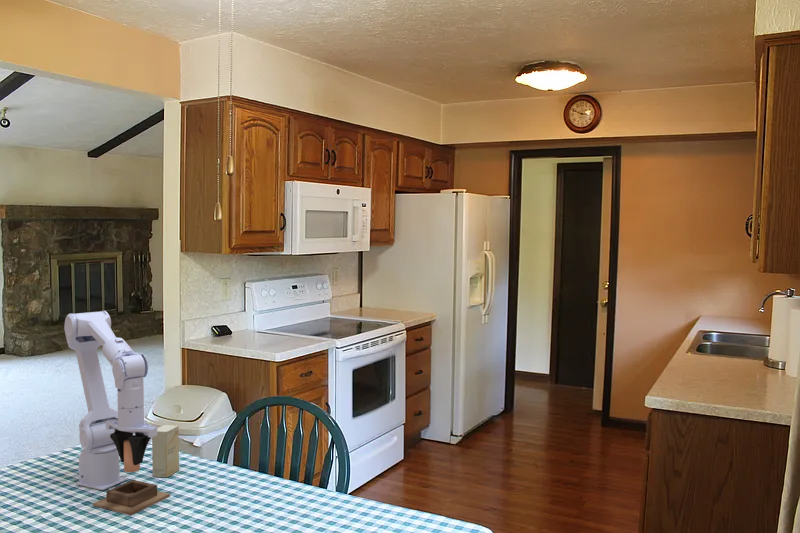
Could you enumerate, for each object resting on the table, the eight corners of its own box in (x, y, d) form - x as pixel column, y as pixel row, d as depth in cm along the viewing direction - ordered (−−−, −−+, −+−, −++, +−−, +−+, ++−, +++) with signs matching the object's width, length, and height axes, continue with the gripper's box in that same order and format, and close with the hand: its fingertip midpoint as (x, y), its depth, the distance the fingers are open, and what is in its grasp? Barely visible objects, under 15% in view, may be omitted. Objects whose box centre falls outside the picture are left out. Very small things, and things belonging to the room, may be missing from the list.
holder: (93, 505, 154) (92, 492, 154) (133, 487, 165) (133, 475, 165) (131, 515, 149) (130, 502, 149) (170, 496, 160) (169, 483, 160)
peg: (120, 470, 156) (120, 441, 156) (132, 466, 159) (132, 437, 159) (131, 473, 155) (130, 444, 154) (143, 468, 158) (142, 439, 157)
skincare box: (167, 478, 172) (166, 432, 171) (151, 476, 173) (151, 431, 172) (179, 469, 178) (179, 425, 177) (164, 468, 179) (164, 424, 178)
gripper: (166, 405, 157) (167, 461, 157) (121, 398, 163) (122, 452, 164) (143, 412, 150) (144, 471, 151) (97, 405, 156) (99, 461, 157)
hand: (131, 462), depth 157 cm, fingers closed on peg, 3 cm apart
